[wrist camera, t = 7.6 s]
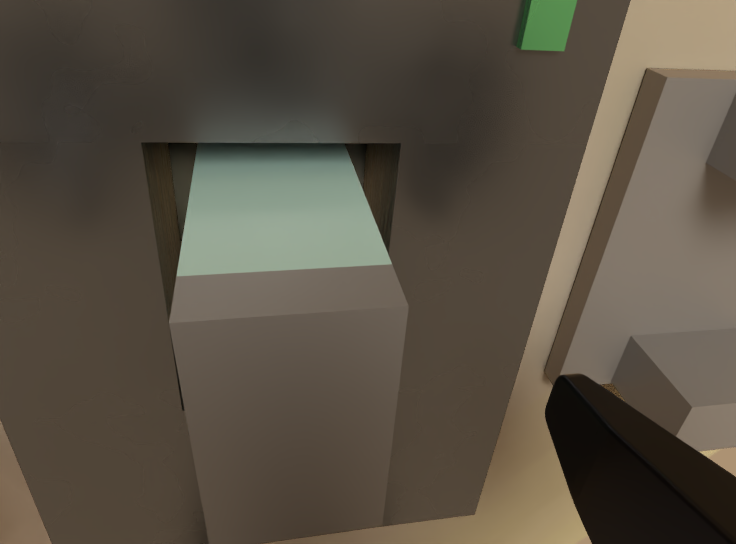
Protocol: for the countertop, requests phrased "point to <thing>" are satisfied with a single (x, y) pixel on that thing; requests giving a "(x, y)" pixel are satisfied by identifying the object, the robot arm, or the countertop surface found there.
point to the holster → (665, 264)
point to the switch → (274, 125)
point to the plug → (286, 342)
